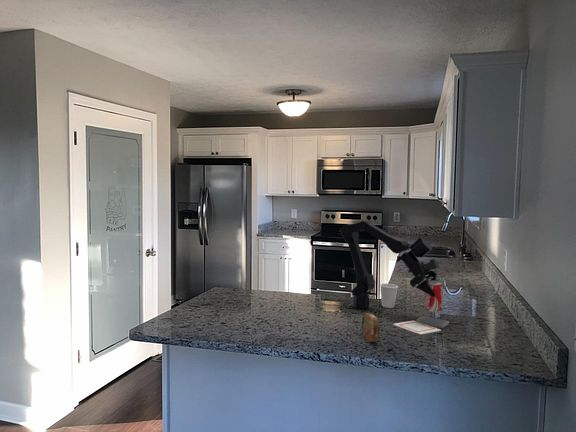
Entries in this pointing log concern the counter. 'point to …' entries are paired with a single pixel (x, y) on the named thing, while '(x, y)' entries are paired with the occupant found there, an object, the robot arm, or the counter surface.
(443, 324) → the ink pad
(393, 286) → the dixie cup
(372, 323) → the brown oval slab
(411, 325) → the print card
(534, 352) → the counter surface
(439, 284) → the soda can
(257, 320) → the counter surface
